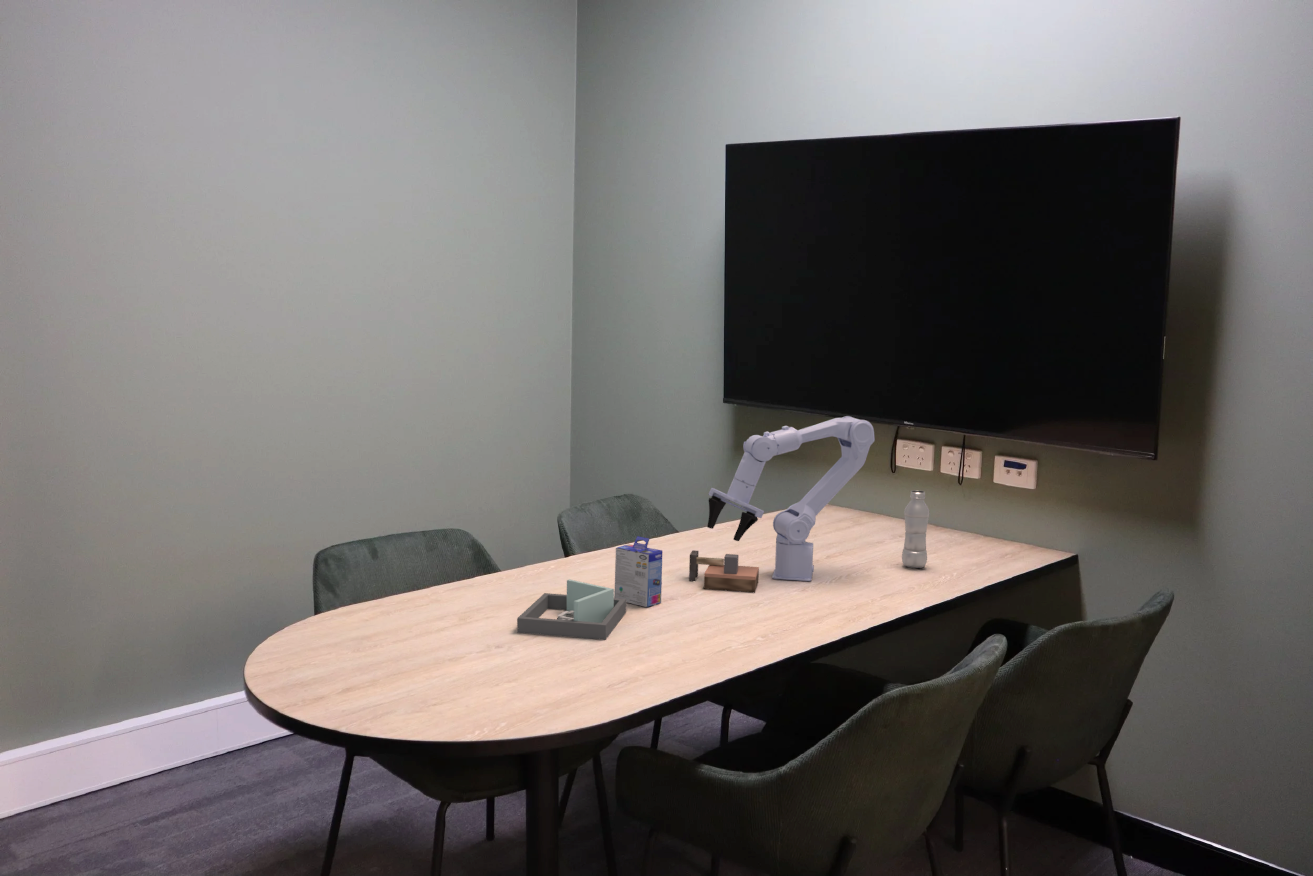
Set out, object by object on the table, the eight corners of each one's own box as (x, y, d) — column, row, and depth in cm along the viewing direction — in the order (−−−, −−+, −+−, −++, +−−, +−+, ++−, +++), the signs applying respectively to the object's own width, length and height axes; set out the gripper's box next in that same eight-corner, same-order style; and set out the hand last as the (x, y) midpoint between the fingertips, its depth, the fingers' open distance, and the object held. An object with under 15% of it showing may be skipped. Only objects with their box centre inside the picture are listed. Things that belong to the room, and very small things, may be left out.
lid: (758, 573, 242) (759, 551, 241) (755, 583, 233) (755, 560, 233) (709, 570, 244) (710, 547, 244) (704, 580, 236) (704, 556, 235)
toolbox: (758, 581, 244) (759, 554, 243) (754, 592, 234) (755, 565, 233) (691, 576, 247) (692, 550, 246) (685, 587, 237) (685, 560, 236)
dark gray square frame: (626, 612, 217) (626, 599, 216) (605, 639, 199) (605, 625, 198) (544, 606, 220) (544, 593, 220) (517, 632, 202) (517, 618, 202)
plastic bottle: (924, 564, 262) (928, 489, 260) (928, 571, 255) (933, 494, 253) (899, 563, 263) (903, 488, 260) (903, 570, 256) (907, 493, 253)
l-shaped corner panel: (569, 612, 218) (569, 579, 217) (613, 623, 211) (613, 589, 210) (532, 626, 208) (532, 591, 207) (577, 638, 201) (578, 602, 200)
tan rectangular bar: (723, 564, 243) (724, 558, 243) (723, 565, 242) (723, 560, 242) (691, 562, 245) (691, 556, 245) (690, 563, 243) (690, 558, 243)
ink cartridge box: (663, 603, 224) (664, 539, 222) (647, 608, 220) (649, 544, 218) (628, 594, 230) (629, 533, 228) (613, 600, 226) (614, 537, 224)
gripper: (712, 469, 242) (691, 521, 243) (763, 491, 235) (741, 544, 235) (724, 473, 248) (703, 523, 249) (774, 495, 241) (752, 547, 242)
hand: (722, 534), depth 243 cm, fingers open, 7 cm apart
